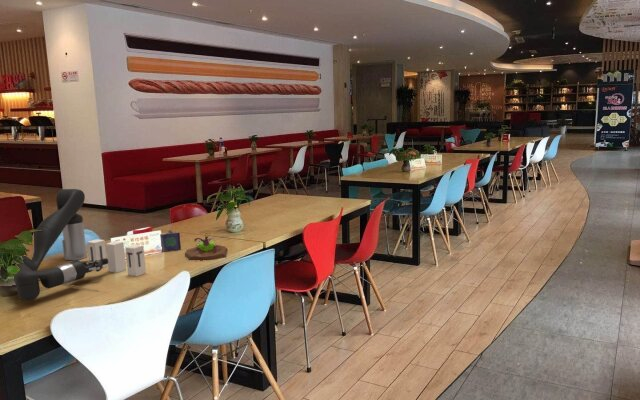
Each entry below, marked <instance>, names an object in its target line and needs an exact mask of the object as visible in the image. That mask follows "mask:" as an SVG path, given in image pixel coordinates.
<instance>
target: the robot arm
mask: <svg viewBox="0 0 640 400" xmlns="http://www.w3.org/2000/svg"><path fill="white" fill-rule="evenodd" d="M55 198H56V206H57V210H56V211H54V212H52V214H50V215H48V216H47V217H46V218H44V219H43V220H42V221H41V222H40V224H39V225H38V226H37V228H36V229H35V231H36V230H42V231H43V232H35V231H34V234H33V255H32V257H31V258H30V257H28V256H27V255H25V256H22V258H23V262H24V263H23V264H17V266H18V267H19V268H20V271H19V272H18V273H17V274H16V275H15V276H14V279H13V281H14V283H15V285H16V290H17V297H18V298H19V299H20V300H22V301H33V300H36V299H37V298H38V297H39V296H40V293H41V289H40V283H41V285H42V286H43V287H44V288H45V289H52V288H55V287H58V286H60V285H61V286H62V285H66V284H70V283H73V282H76V281H78V280H81V279H84V278H85V277H86V274H89V273H92V272H93V271H96V272H100V271H101V270H102V269H103V266H102V265H105V264H107V265H108V259H106V258H107V257H106V258H104V259H101V260H95V261H94V260H89V259H88V260H82V259H85V258H87V257H88V254H87V253H88V251H87V245H86V243H87V242H86V235H85V227H84V219H83V216H82V214H79V213H78V211H79V210H80V209H81V208H82V207H83V204H84V203H85V200H86V199H85V198H86V196H85V193H84V191H83V190H81V189H77V188H62V189H59V191H58V192H57V193H56V197H55ZM61 234H62V237H63V239H62V240H61V241H62V251H63V257H64V258H63V259H64V261H69V262H65V263H63V264H60V265H57V266H56V267H55V266H54V267H52V268H48V269H44V270H43V269H42V270H38V269H39V268H40V266H41V264H42V262H43V261H44V259H45V257H46V255H47V254H48V252H49V251H50V249H51V248H52V247H53V245H54V244H55V243H56V241H57V240H58V238H59V237H60V236H61ZM81 260H82V261H81ZM39 281H40V282H39Z"/></svg>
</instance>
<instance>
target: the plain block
mask: <svg viewBox="0 0 640 400" xmlns="http://www.w3.org/2000/svg"><path fill="white" fill-rule="evenodd" d="M124 245H125V244H124V241H118V240H115V241H110V242H107V243H105V248H106V258H107V259H108V264H107V269H108V272H109V273H116V274H117V273H119V272H122V271H127V262H126V252H125V248H124V247H125V246H124Z"/></svg>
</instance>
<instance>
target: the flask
mask: <svg viewBox="0 0 640 400" xmlns="http://www.w3.org/2000/svg"><path fill="white" fill-rule="evenodd" d="M159 235H160V237H159V239H160V246H161V247H162V250H161V252H162V253H163V252H164V253H167V252H175V251H181V250H182V249H181V248H182V246H181V245H182V244H181V234H180V232H179V231H172V230H171V228H169V229H167V232H164V233H160V234H159ZM161 247H160V248H161Z"/></svg>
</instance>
